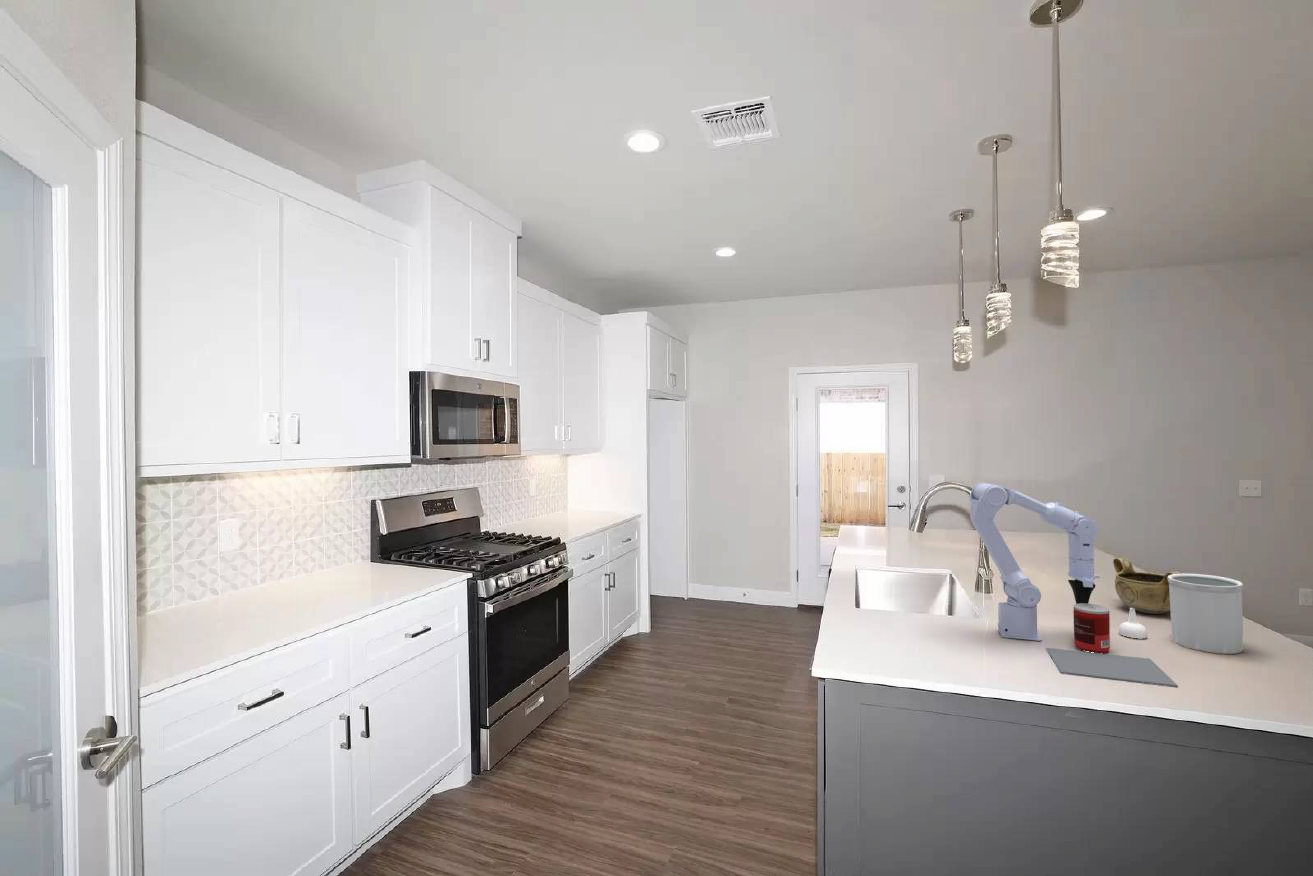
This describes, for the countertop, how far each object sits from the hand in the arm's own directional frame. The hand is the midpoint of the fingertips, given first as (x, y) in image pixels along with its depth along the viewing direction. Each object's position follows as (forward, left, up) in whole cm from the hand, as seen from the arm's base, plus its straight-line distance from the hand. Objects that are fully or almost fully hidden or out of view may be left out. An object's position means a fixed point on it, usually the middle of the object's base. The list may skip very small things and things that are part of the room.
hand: (1081, 607), depth 165 cm
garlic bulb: (+13, +6, -9) cm, 17 cm away
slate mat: (0, -23, -8) cm, 24 cm away
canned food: (0, -10, -9) cm, 13 cm away
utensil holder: (+28, +4, -9) cm, 30 cm away
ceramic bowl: (+25, +35, -9) cm, 44 cm away
